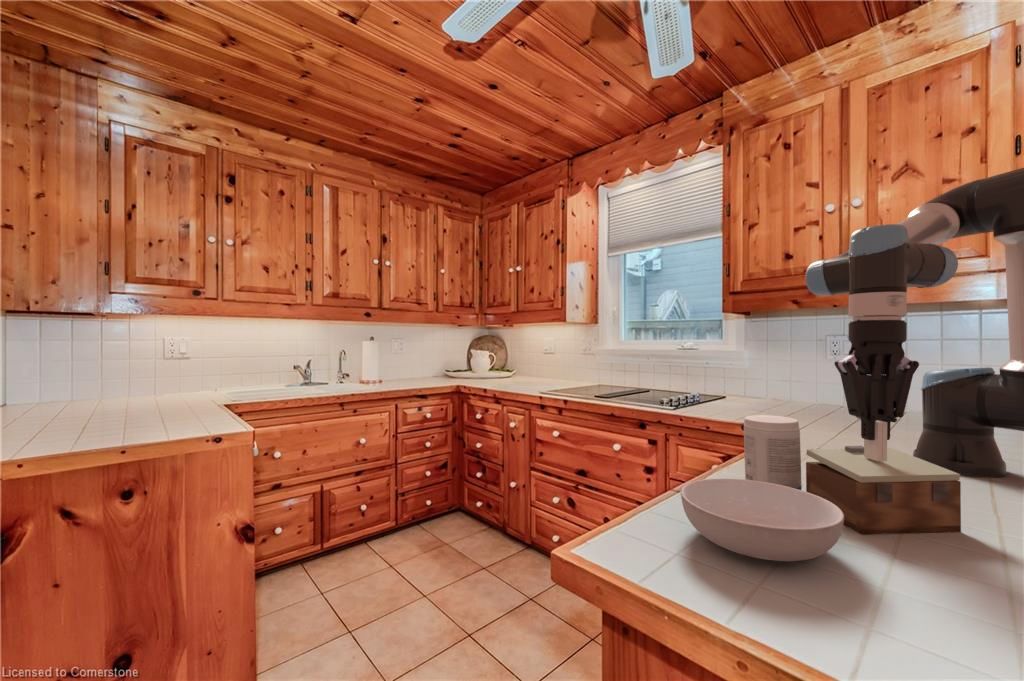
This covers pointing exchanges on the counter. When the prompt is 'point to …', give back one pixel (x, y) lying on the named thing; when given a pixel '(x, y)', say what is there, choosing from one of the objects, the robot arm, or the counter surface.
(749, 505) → the serving bowl
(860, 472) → the lid
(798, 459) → the supplement tub
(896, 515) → the keepsake box
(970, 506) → the counter surface
